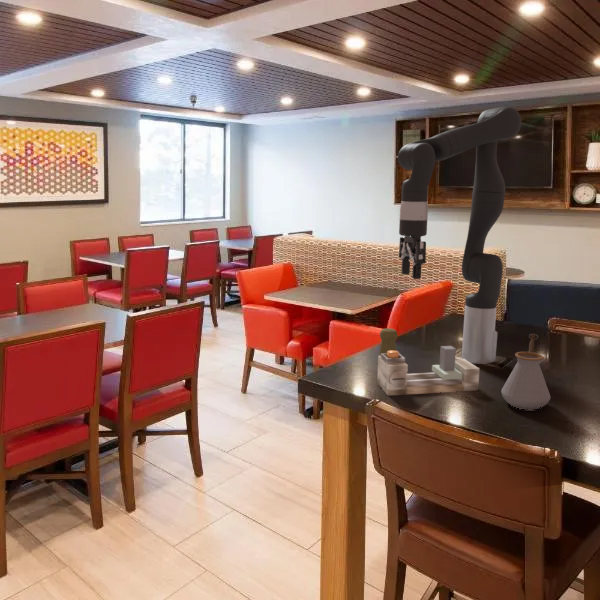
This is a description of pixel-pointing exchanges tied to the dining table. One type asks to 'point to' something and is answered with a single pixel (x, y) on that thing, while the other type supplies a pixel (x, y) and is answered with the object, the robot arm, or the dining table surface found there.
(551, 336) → the dining table surface
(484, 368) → the dining table surface
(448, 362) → the carriage
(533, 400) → the coffee pot
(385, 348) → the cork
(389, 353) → the button
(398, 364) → the rail
